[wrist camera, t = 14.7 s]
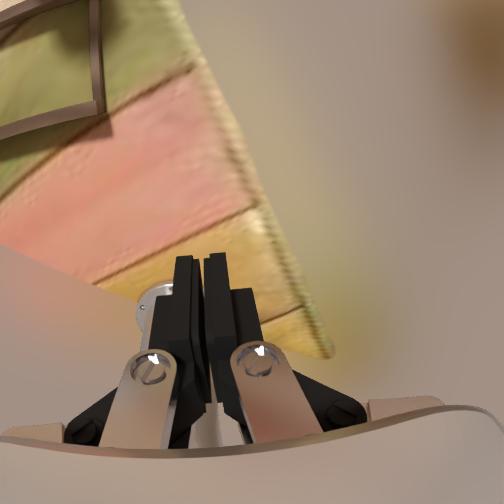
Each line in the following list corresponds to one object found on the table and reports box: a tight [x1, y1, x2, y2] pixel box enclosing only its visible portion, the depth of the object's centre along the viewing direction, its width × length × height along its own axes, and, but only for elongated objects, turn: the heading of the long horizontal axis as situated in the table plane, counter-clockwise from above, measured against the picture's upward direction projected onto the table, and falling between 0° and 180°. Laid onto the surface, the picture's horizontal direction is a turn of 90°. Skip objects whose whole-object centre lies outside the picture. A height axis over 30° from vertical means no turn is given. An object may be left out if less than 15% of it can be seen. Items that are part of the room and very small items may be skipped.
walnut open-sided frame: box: [0, 0, 106, 140], centre depth 24 cm, size 16×22×3 cm
